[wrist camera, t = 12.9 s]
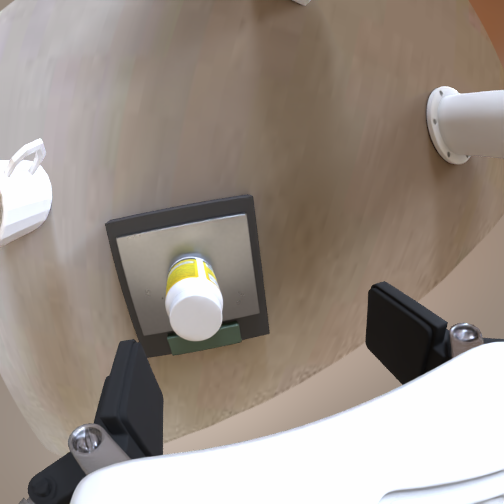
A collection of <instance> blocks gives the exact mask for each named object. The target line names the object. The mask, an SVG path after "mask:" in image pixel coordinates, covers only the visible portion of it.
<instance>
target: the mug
mask: <svg viewBox="0 0 504 504" xmlns="http://www.w3.org/2000/svg"><path fill="white" fill-rule="evenodd" d="M34 152H35V153H36V156H35V158H34V161H33V162H32V161H26V160H23V159H24V158H25V157H26V156H28V155H30V154H32V153H34ZM45 155H46V151H45V147H44V144H43V142H42V140H41V139H38V140H36V141H34V142H31V143H29V144H27V145H25V146H23V147H22V148H21V149H20V150H19V151H18V152H17V153H16V154H15V155H14V156H13V157H12V158H11V160H5V161H0V248H1V247H3V246H5V245H6V244H8V243H10V242H12V241H14V240H16V239H18V238H20V237H22V236H24V235H26V234H28V233H30V232H32V231H34V230H35V229H37V228H39V227H40V226H41V225H42V223H43V222H44V221H45V220H46V218H47V215H48V213H49V211H50V207H51V201H52V190H51V184H50V181H49V178H48V175H47V174H46V172H45V171H44V170H43V168H42V167H41V166H40V164H41V162H42V160H43V158H44V157H45Z"/></svg>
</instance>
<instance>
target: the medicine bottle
mask: <svg viewBox="0 0 504 504" xmlns="http://www.w3.org/2000/svg"><path fill="white" fill-rule="evenodd" d="M293 1H295V2H297V3H299V4H301V5H304V6H305V5H307V4H308V3H309V2H310V0H293Z"/></svg>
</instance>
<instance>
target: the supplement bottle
mask: <svg viewBox="0 0 504 504" xmlns="http://www.w3.org/2000/svg"><path fill="white" fill-rule="evenodd" d="M165 307H166V312H167V314H168V316H169V319H170V324H171V327H172V329H173V330H174V332H175V333H176V334H177V335H179V336H180V337H182V338H184V339H186V340H189V341H202V340H205V339H208V338H210V337H212V336H213V335H214V334H215V333H216V332H217V331H218V330H219V328H220V326H221V324H222V309H223V298H222V294H221V292H220V289H219V286H218V283H217V280H216V277H215V274H214V271H213V269H212V267H211V266H210V265H209V264H208V263H207V262H206V261H204V260H203V259H201V258H197V257H185V258H182V259H180V260H178V261H176V262H175V263H174V264H173V265H172V267H171V268H170V270H169V273H168V276H167V286H166V298H165Z"/></svg>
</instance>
